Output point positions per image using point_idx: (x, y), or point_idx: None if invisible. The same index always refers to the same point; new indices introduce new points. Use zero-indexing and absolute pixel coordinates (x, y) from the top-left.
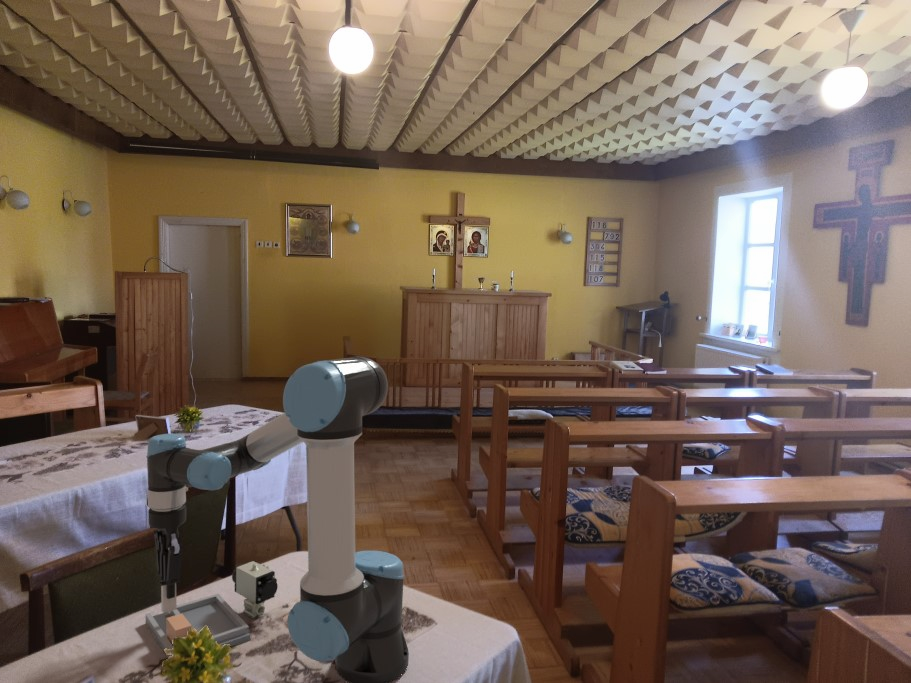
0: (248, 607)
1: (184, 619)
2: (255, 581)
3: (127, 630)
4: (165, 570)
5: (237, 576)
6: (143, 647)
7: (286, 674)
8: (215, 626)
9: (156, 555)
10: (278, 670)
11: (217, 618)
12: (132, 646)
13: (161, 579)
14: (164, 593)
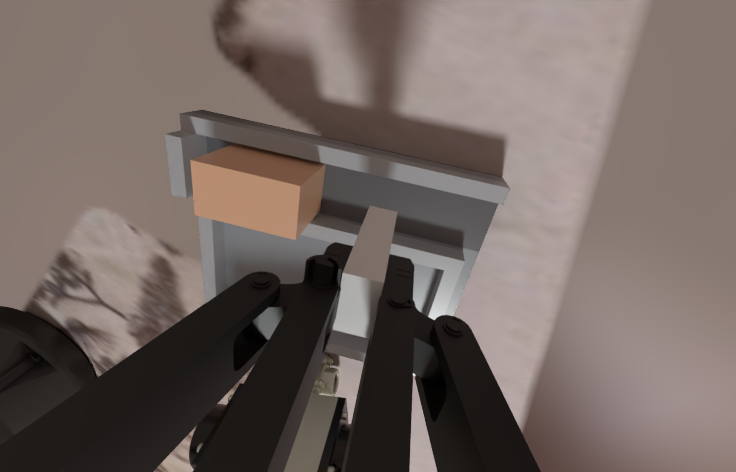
0: None
1: (247, 222)
2: None
3: (517, 110)
4: (269, 343)
5: (315, 450)
6: (364, 97)
7: (57, 261)
8: (292, 282)
9: (524, 454)
10: (76, 261)
11: None
12: (398, 71)
13: (387, 295)
14: (352, 249)
